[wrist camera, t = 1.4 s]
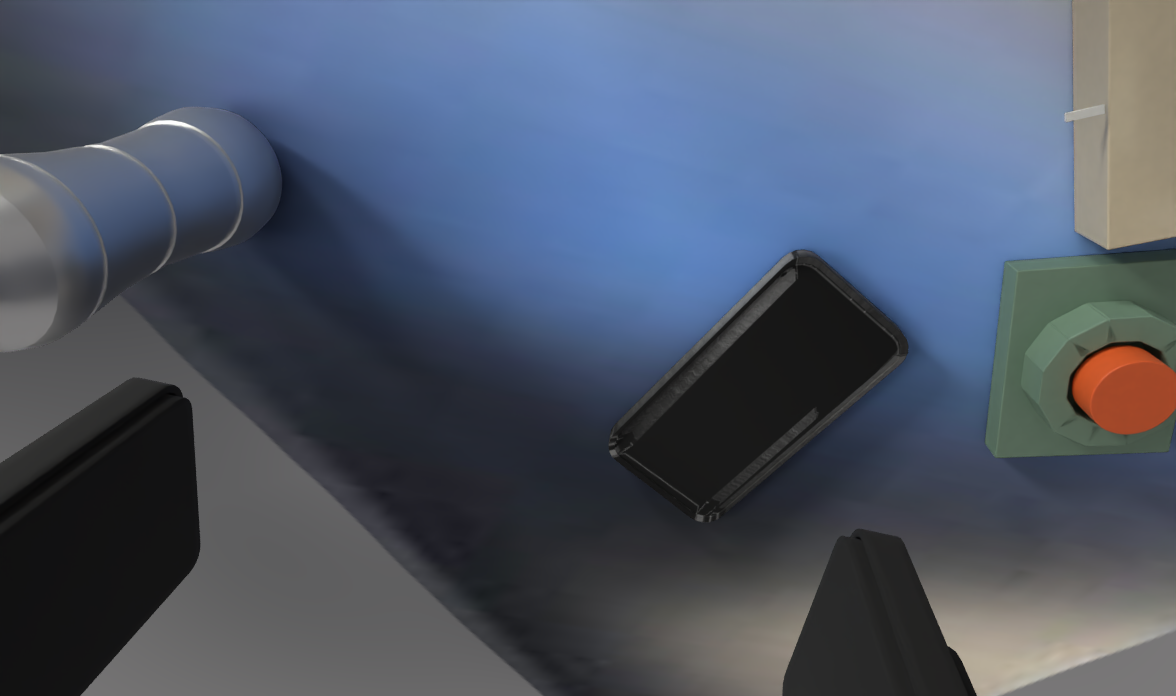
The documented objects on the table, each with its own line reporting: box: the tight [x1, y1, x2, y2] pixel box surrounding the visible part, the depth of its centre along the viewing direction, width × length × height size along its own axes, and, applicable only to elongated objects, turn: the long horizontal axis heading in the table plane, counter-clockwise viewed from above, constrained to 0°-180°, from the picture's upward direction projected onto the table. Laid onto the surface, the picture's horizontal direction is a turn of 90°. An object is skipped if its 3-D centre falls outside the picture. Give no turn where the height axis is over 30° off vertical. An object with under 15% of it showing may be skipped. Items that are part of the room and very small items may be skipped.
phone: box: [609, 250, 908, 522], centre depth 39 cm, size 8×1×15 cm
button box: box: [985, 249, 1176, 458], centre depth 35 cm, size 10×8×4 cm
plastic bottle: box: [0, 107, 282, 352], centre depth 29 cm, size 6×7×20 cm
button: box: [1072, 345, 1176, 434], centre depth 33 cm, size 4×4×2 cm
